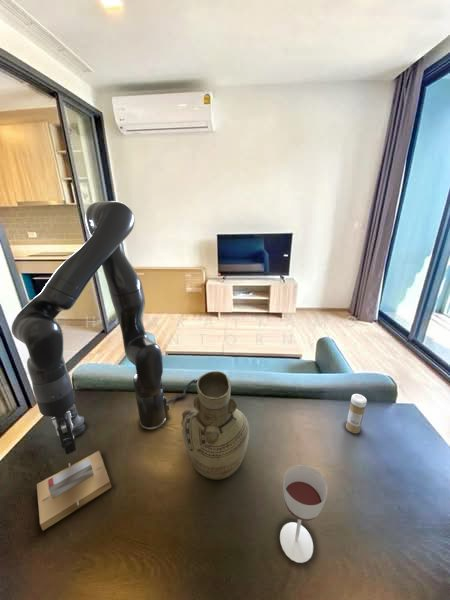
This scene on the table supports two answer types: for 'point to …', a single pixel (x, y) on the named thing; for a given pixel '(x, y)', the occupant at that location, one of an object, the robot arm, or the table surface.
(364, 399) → the sprinkles bottle
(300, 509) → the wineglass
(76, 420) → the grey stone statuette
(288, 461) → the table surface
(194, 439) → the ceramic vessel
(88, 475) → the white rectangular block
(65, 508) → the base
